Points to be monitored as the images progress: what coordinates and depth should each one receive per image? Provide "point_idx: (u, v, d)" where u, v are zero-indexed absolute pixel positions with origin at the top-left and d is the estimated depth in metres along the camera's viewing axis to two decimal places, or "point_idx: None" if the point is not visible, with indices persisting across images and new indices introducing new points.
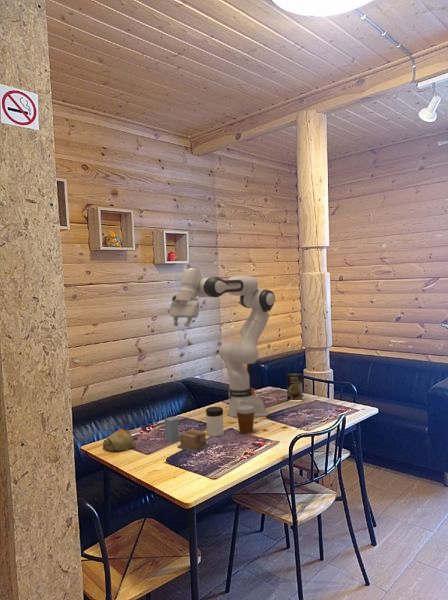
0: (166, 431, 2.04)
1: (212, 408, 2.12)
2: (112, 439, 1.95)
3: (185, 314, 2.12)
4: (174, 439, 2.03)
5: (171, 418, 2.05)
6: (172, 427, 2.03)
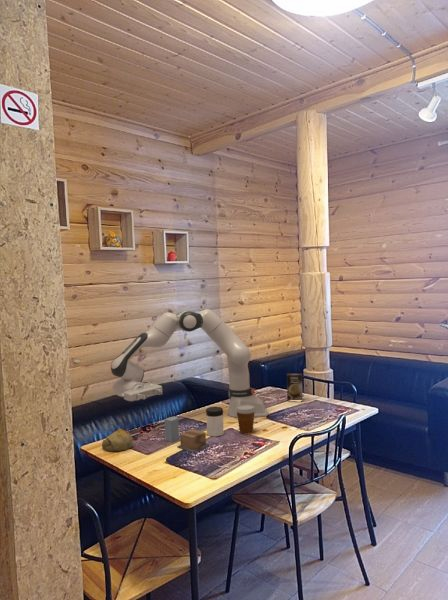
0: (166, 431, 2.04)
1: (212, 408, 2.12)
2: (111, 439, 1.95)
3: None
4: (174, 439, 2.03)
5: (171, 418, 2.05)
6: (172, 427, 2.03)
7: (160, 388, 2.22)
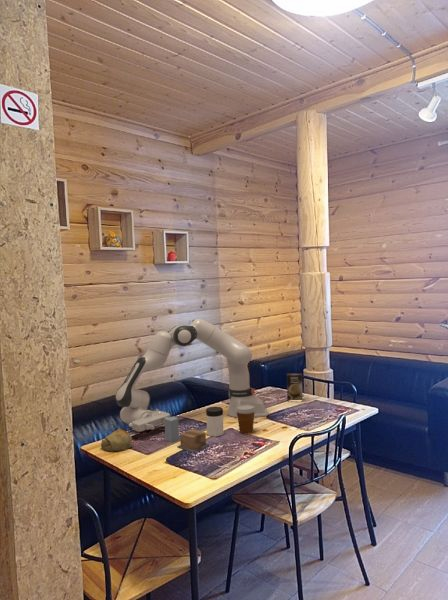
0: (166, 431, 2.04)
1: (212, 408, 2.12)
2: (110, 439, 1.95)
3: None
4: (174, 439, 2.03)
5: (171, 418, 2.05)
6: (172, 427, 2.03)
7: (168, 416, 2.19)
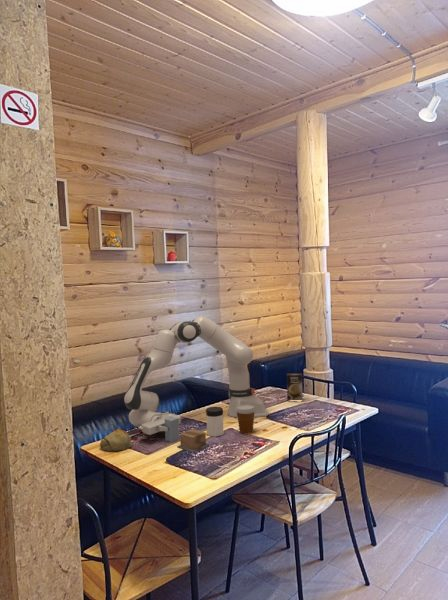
0: (166, 431, 2.04)
1: (212, 408, 2.12)
2: (109, 439, 1.95)
3: None
4: (174, 439, 2.03)
5: (171, 418, 2.05)
6: (172, 427, 2.03)
7: (179, 419, 2.14)
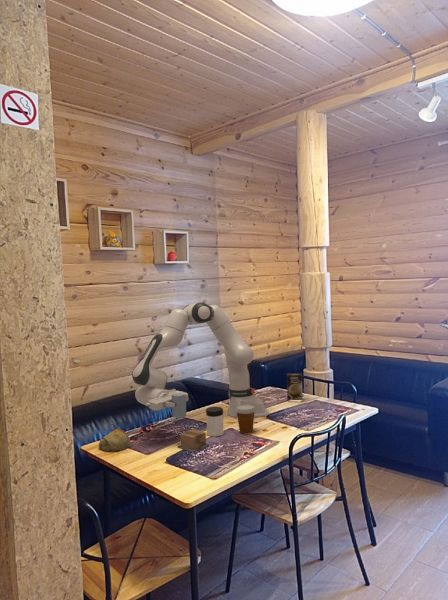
0: (173, 407, 2.00)
1: (212, 408, 2.12)
2: (108, 439, 1.95)
3: None
4: (181, 415, 1.99)
5: (178, 394, 2.01)
6: (179, 403, 1.98)
7: (186, 396, 2.10)
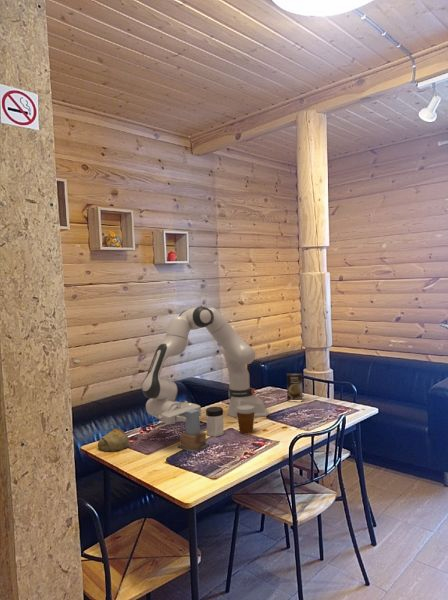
0: (186, 424, 1.95)
1: (212, 408, 2.12)
2: (107, 439, 1.95)
3: None
4: (195, 432, 1.94)
5: (192, 410, 1.96)
6: (193, 419, 1.93)
7: (199, 408, 2.04)
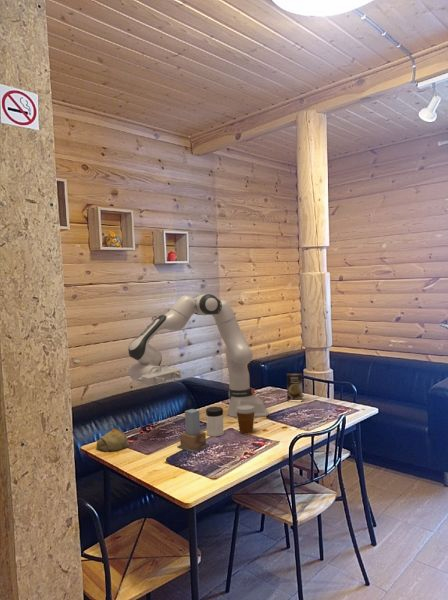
0: (186, 424, 1.95)
1: (212, 408, 2.12)
2: (106, 439, 1.95)
3: (157, 382, 2.03)
4: (195, 432, 1.94)
5: (192, 410, 1.96)
6: (193, 419, 1.93)
7: (178, 371, 2.12)
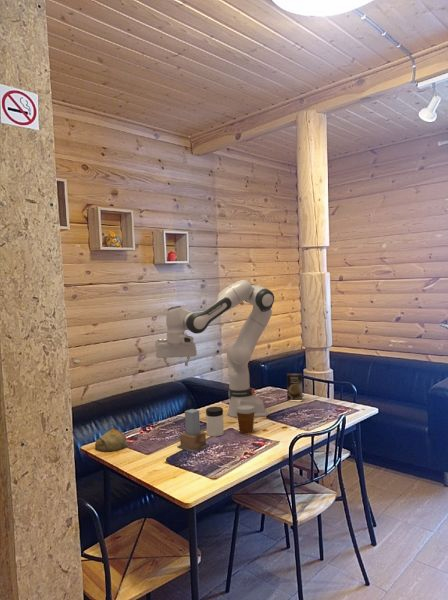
0: (186, 424, 1.95)
1: (212, 408, 2.12)
2: (105, 439, 1.95)
3: None
4: (195, 432, 1.94)
5: (192, 410, 1.96)
6: (193, 419, 1.93)
7: (193, 356, 2.21)
